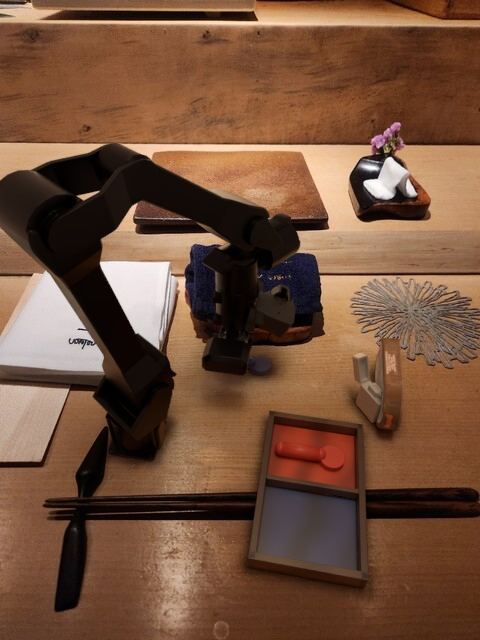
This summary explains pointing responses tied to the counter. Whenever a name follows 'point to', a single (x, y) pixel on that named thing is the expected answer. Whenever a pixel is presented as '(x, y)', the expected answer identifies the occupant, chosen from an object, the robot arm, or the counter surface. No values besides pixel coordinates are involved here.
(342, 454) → the vermilion spoon
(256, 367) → the indigo spoon
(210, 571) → the counter surface
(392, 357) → the tin
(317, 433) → the sorting tray
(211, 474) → the counter surface
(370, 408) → the lighter
